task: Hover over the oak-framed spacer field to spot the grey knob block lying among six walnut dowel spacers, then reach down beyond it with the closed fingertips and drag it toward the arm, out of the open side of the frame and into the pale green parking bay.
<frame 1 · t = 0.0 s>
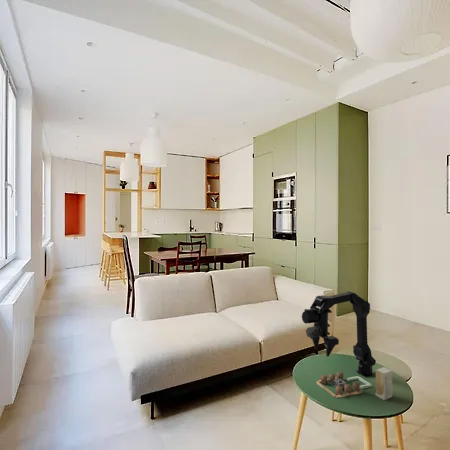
hand: (321, 352, 150), 15 cm above the table, fingers open, 9 cm apart
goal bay: (359, 383, 149), on the table
spacer field: (339, 387, 145), on the table
grey knob block: (339, 387, 145), on the table
skincare box: (383, 396, 137), on the table
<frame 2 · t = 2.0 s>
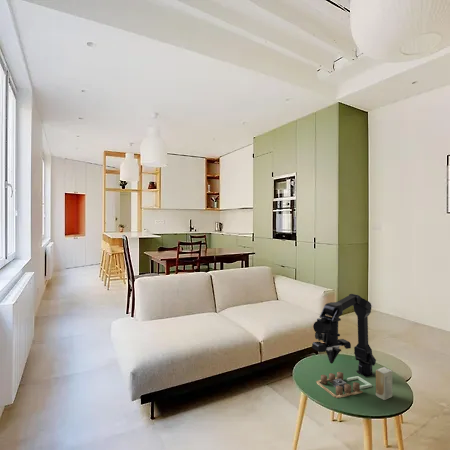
hand: (331, 363, 143), 12 cm above the table, fingers closed
nothing on the table moved.
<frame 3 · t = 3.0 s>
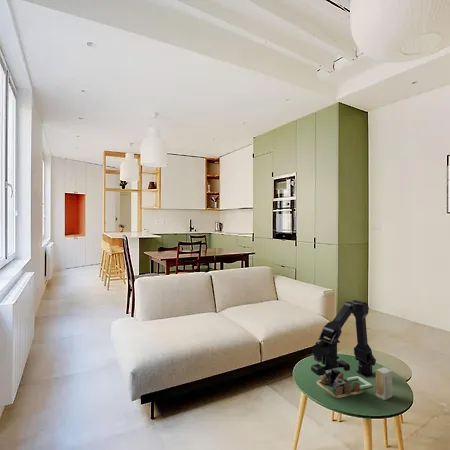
hand: (330, 385, 143), 2 cm above the table, fingers closed
nothing on the table moved.
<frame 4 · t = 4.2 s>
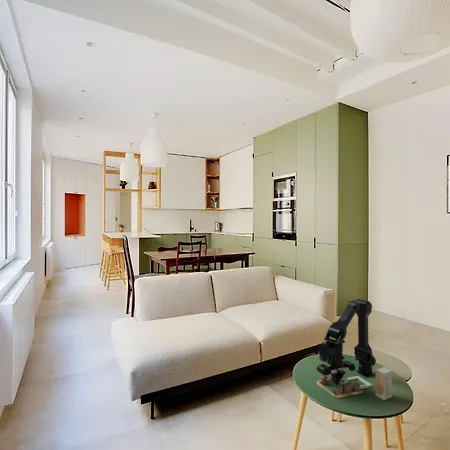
hand: (335, 385, 144), 1 cm above the table, fingers closed
grey knob block: (342, 387, 145), on the table, touching gripper
everything else where it was.
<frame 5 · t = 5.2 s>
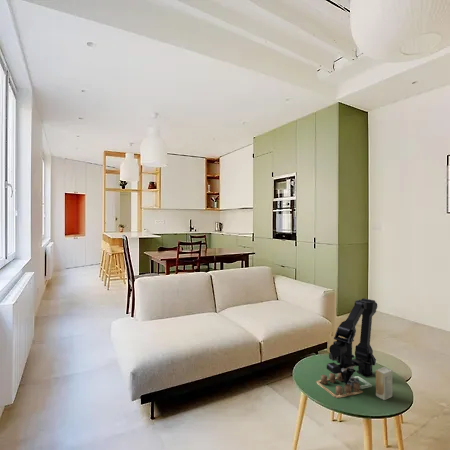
hand: (345, 383, 146), 1 cm above the table, fingers closed
grey knob block: (351, 385, 147), on the table, touching gripper
everything else where it was.
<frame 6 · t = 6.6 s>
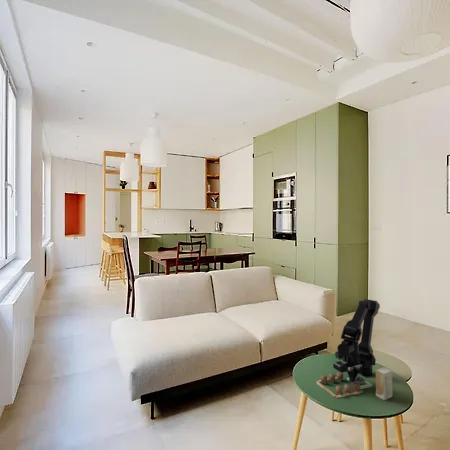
hand: (351, 382, 147), 1 cm above the table, fingers closed
grey knob block: (358, 384, 148), on the table
everything else where it was.
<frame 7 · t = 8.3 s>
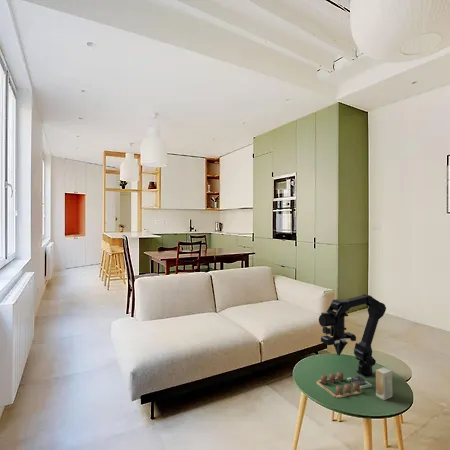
hand: (338, 355, 154), 12 cm above the table, fingers closed
nothing on the table moved.
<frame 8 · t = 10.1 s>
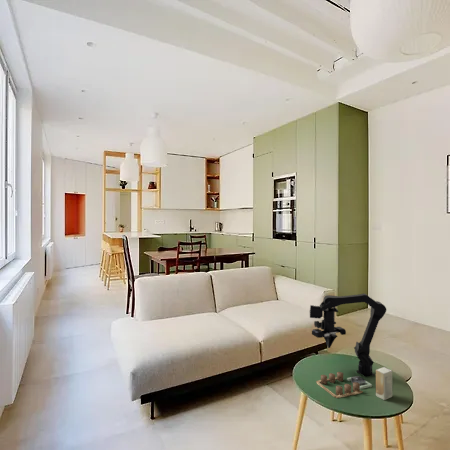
hand: (328, 347, 163), 12 cm above the table, fingers closed
nothing on the table moved.
at the end: grey knob block inside the target area on the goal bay (0.8 cm from its centre), point 0.0 cm above the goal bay's base; grey knob block moved 10.9 cm from its start; grey knob block tilted 0° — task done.
